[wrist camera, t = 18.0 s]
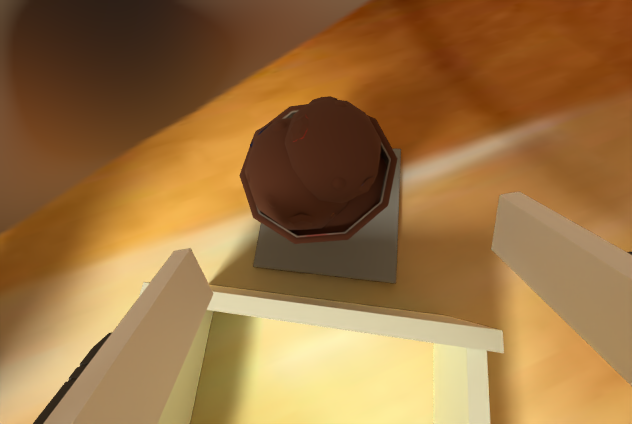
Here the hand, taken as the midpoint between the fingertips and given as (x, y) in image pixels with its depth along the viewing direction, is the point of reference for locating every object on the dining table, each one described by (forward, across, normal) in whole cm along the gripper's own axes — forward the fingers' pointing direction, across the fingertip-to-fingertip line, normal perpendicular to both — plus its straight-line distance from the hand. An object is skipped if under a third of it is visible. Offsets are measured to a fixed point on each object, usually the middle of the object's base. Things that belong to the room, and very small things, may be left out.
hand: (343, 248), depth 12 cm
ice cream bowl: (+15, -1, -6) cm, 16 cm away
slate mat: (+16, 0, -6) cm, 17 cm away
